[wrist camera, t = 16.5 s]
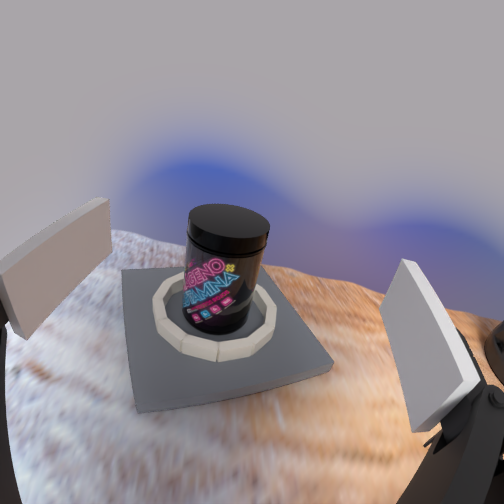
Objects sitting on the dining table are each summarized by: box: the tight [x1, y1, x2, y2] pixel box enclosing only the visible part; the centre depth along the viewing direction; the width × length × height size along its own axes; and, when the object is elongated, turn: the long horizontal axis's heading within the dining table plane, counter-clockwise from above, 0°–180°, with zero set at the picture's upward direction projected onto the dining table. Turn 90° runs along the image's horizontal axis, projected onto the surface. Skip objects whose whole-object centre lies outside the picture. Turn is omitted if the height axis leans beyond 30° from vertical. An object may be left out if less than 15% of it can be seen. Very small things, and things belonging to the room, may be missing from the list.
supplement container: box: [182, 204, 270, 336], centre depth 26 cm, size 7×7×10 cm
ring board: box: [122, 266, 334, 413], centre depth 28 cm, size 18×18×3 cm
